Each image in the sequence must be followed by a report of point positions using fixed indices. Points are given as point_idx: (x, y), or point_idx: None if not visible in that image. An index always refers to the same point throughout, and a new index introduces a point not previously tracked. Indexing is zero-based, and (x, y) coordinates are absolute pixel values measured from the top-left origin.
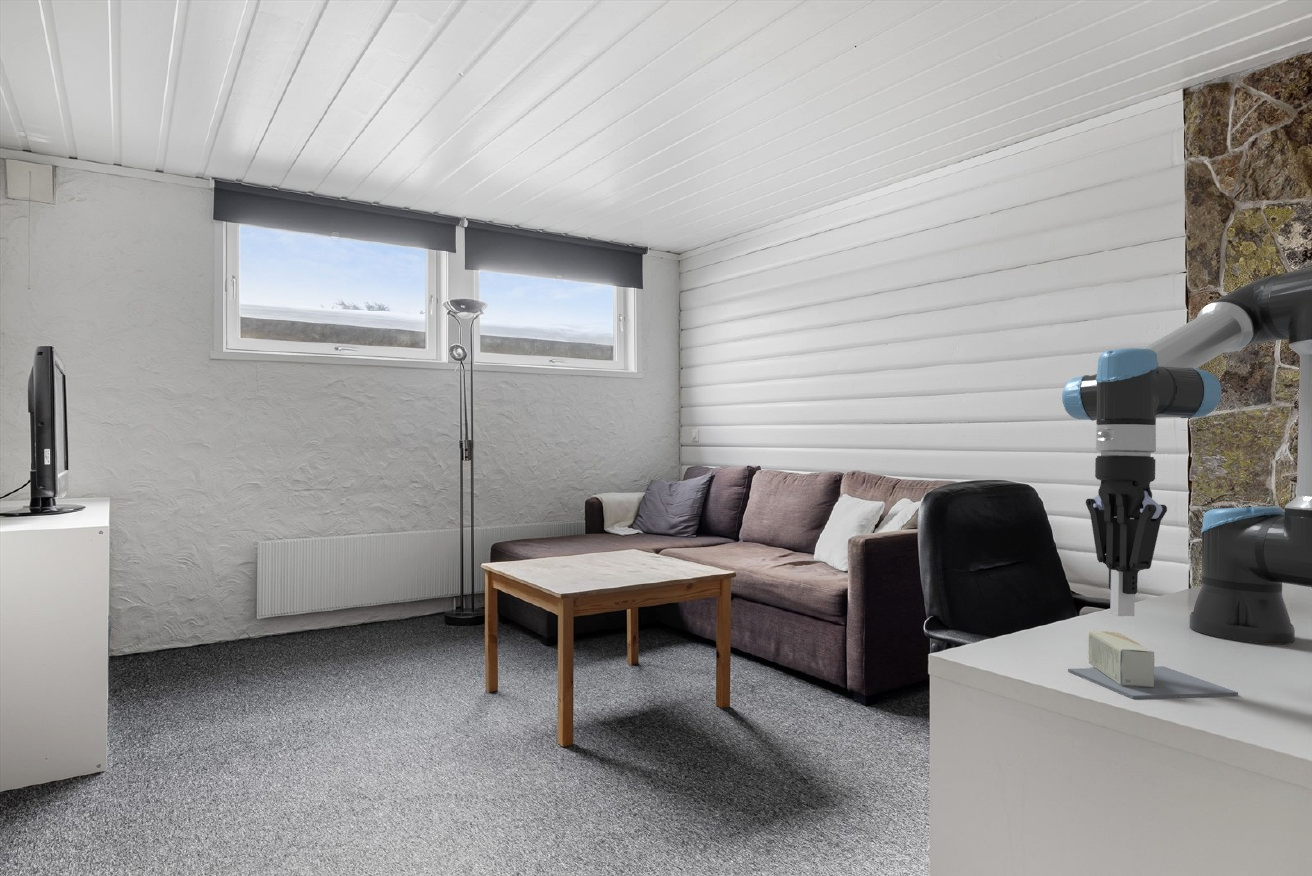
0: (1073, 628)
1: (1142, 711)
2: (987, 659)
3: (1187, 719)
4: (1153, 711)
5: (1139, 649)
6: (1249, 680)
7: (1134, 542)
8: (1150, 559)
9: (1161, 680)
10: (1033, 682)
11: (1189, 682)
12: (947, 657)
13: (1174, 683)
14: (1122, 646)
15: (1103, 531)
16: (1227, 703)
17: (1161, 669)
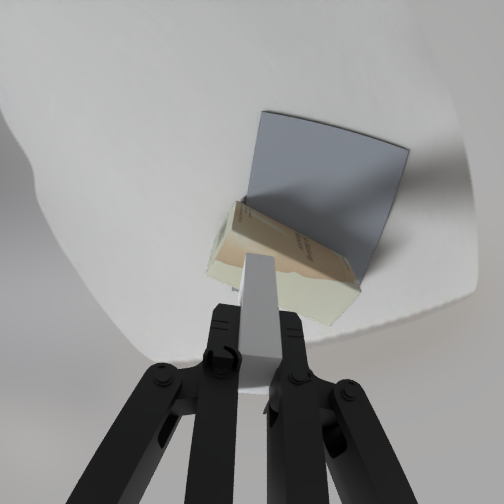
0: (11, 68)
1: (374, 321)
2: (164, 332)
3: (407, 300)
4: (380, 312)
5: (343, 304)
6: (360, 31)
7: (339, 490)
8: (371, 416)
9: (326, 207)
10: None
11: (350, 171)
12: (156, 358)
13: (345, 202)
14: (319, 313)
15: (137, 497)
16: (414, 205)
17: (278, 139)
